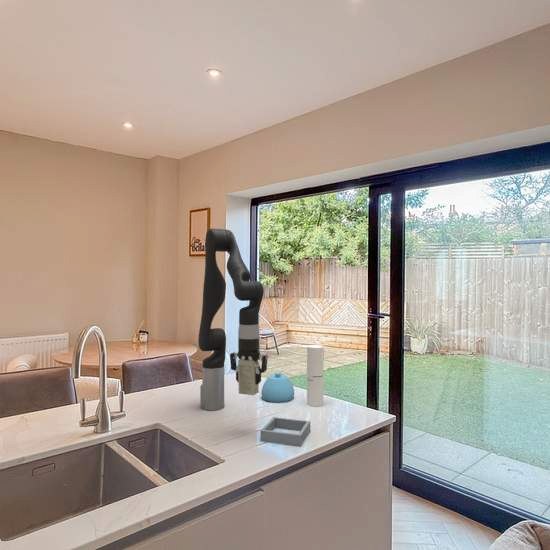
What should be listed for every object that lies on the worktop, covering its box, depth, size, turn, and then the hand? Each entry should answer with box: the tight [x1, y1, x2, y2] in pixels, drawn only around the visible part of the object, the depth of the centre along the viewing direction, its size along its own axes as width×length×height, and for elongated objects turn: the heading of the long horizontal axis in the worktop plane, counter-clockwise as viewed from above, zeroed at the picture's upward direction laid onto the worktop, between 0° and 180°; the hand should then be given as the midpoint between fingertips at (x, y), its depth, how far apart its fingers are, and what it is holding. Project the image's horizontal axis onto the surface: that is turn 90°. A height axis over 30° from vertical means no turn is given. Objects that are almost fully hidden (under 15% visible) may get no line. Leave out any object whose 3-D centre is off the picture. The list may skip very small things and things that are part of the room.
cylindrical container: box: [306, 344, 325, 407], centre depth 179 cm, size 7×7×25 cm
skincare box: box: [237, 359, 260, 396], centre depth 148 cm, size 6×4×12 cm
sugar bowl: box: [261, 371, 295, 403], centre depth 187 cm, size 15×15×12 cm
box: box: [259, 416, 311, 447], centre depth 143 cm, size 14×14×4 cm
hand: (248, 382), depth 148 cm, fingers closed on skincare box, 6 cm apart
